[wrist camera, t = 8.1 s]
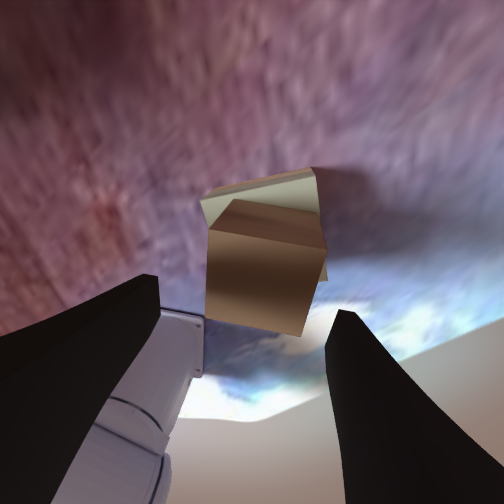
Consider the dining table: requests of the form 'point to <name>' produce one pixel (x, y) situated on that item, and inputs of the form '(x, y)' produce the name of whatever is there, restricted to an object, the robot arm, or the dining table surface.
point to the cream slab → (269, 196)
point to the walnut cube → (263, 266)
